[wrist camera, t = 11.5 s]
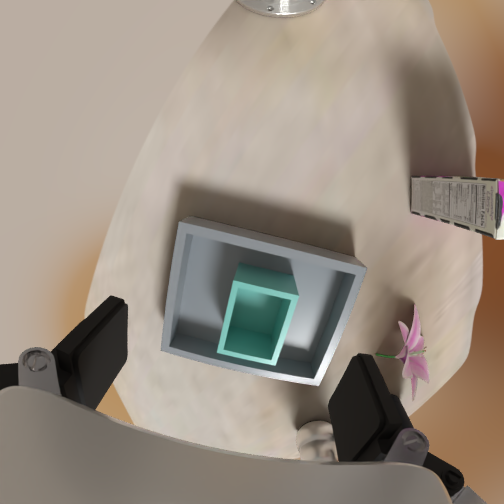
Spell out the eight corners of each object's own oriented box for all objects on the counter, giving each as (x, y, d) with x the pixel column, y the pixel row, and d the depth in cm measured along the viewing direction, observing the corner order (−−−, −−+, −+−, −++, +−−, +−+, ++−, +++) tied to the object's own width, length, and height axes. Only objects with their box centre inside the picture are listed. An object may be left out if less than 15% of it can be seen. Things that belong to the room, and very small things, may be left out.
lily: (410, 370, 38) (456, 380, 29) (354, 400, 35) (401, 420, 26) (405, 299, 39) (454, 298, 30) (346, 319, 36) (399, 325, 26)
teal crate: (239, 262, 33) (233, 280, 27) (293, 275, 33) (299, 295, 27) (224, 326, 35) (216, 352, 29) (274, 337, 35) (275, 365, 29)
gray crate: (190, 215, 33) (179, 221, 29) (355, 256, 33) (367, 268, 29) (171, 332, 37) (160, 350, 33) (314, 365, 37) (318, 385, 33)
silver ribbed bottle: (330, 438, 41) (346, 533, 22) (291, 439, 41) (297, 538, 22) (339, 414, 40) (363, 517, 20) (297, 415, 40) (307, 524, 20)
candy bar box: (472, 177, 30) (560, 187, 14) (472, 213, 31) (558, 239, 15) (408, 173, 30) (499, 177, 14) (408, 214, 32) (496, 243, 16)
